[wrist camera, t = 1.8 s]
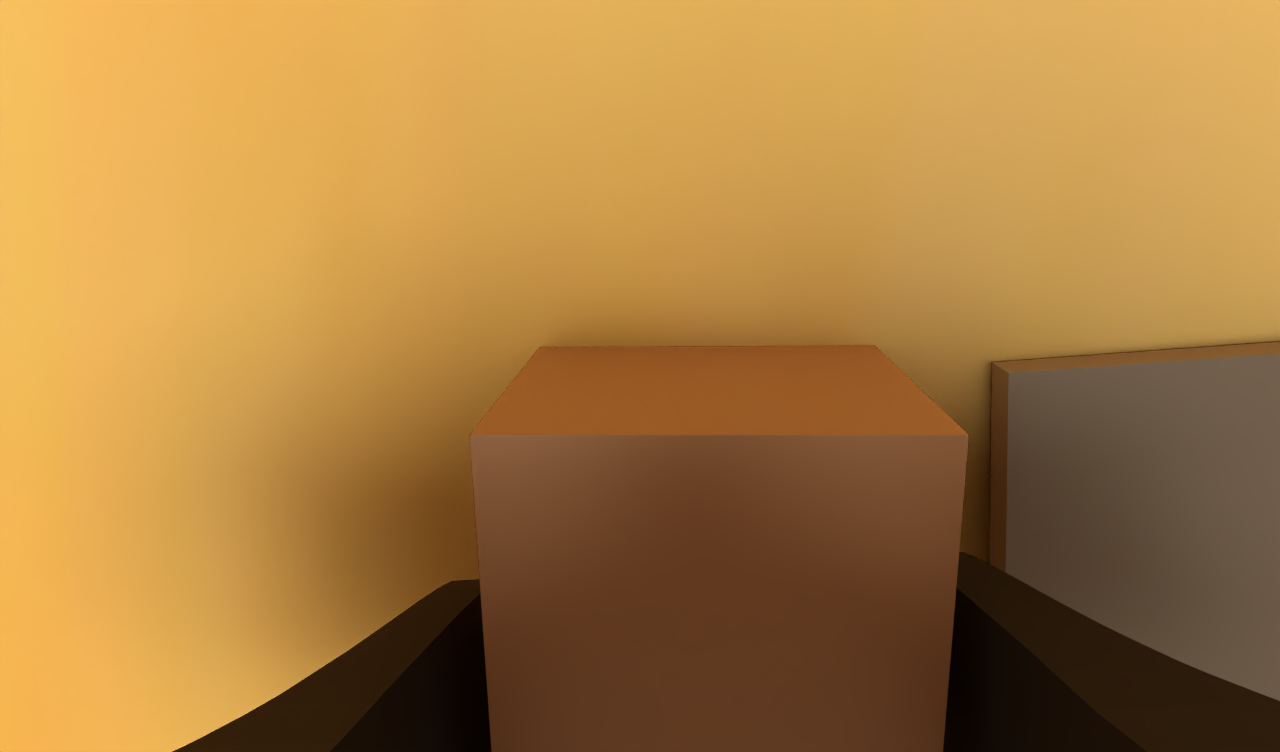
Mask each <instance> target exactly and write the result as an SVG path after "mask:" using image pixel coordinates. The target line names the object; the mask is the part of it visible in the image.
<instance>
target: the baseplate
mask: <svg viewBox="0 0 1280 752" xmlns="http://www.w3.org/2000/svg"><path fill="white" fill-rule="evenodd" d="M990 564H991V565H993V566H994V567H996V568H998V569H1000V570H1002V571H1004V572H1006V573H1007V574H1009V575H1011V576H1013V577H1015V578H1016V579H1018V580H1020V581H1022V582H1024V583H1026V584H1027V585H1029V586H1031V587H1033V588H1035V589H1036V590H1038V591H1040V592H1042V593H1044V594H1046V595H1047V596H1049V597H1051V598H1053V599H1055V600H1056V601H1058V602H1060V603H1062V604H1064V605H1066V606H1068V607H1070V608H1071V609H1073V610H1075V611H1077V612H1079V613H1081V614H1083V615H1085V616H1087V617H1089V618H1090V619H1092V620H1094V621H1096V622H1098V623H1100V624H1102V625H1104V626H1106V627H1108V628H1110V629H1112V630H1114V631H1116V632H1118V633H1120V634H1122V635H1124V636H1126V637H1129V638H1131V639H1133V640H1135V641H1137V642H1139V643H1141V644H1143V645H1146V646H1148V647H1150V648H1152V649H1154V650H1156V651H1158V652H1160V653H1163V654H1165V655H1167V656H1169V657H1171V658H1173V659H1176V660H1178V661H1180V662H1183V663H1185V664H1187V665H1190V666H1192V667H1194V668H1197V669H1199V670H1201V671H1204V672H1206V673H1209V674H1211V675H1214V676H1216V677H1219V678H1221V679H1224V680H1227V681H1229V682H1232V683H1234V684H1237V685H1240V686H1242V687H1245V688H1247V689H1250V690H1252V691H1255V692H1258V693H1260V694H1263V695H1265V696H1268V697H1270V698H1273V699H1276V700H1279V701H1280V342H1266V343H1252V344H1238V345H1224V346H1211V347H1197V348H1183V349H1169V350H1155V351H1141V352H1127V353H1113V354H1099V355H1086V356H1072V357H1058V358H1044V359H1030V360H1016V361H1002V362H992V391H991V484H990Z"/></svg>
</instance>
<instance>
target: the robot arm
mask: <svg viewBox="0 0 1280 752" xmlns="http://www.w3.org/2000/svg"><path fill="white" fill-rule="evenodd" d="M173 752H492V751H491V736H490V722H489V708H488V693H487V679H486V664H485V650H484V636H483V621H482V607H481V592H480V579H477V580H459V581H451V582H449V583H447V584H445V585H443V586H441V587H440V588H438V589H436V590H435V591H433V592H432V593H430V594H429V595H427V596H426V597H424V598H423V599H421V600H420V601H418V602H417V603H416V604H414V605H413V606H411V607H410V608H408V609H407V610H406V611H404V612H403V613H401V614H400V615H399V616H397V617H396V618H394V619H393V620H391V621H390V622H389V623H387V624H386V625H384V626H383V627H381V628H380V629H379V630H377V631H376V632H374V633H373V634H371V635H370V636H369V637H367V638H366V639H364V640H363V641H361V642H360V643H359V644H357V645H356V646H354V647H353V648H351V649H350V650H348V651H347V652H346V653H344V654H342V655H341V656H339V657H338V658H336V659H335V660H333V661H332V662H330V663H328V664H327V665H325V666H324V667H322V668H321V669H319V670H318V671H316V672H314V673H313V674H311V675H310V676H308V677H307V678H305V679H303V680H302V681H300V682H299V683H297V684H296V685H294V686H293V687H291V688H289V689H288V690H286V691H285V692H283V693H282V694H280V695H278V696H277V697H275V698H273V699H271V700H270V701H268V702H266V703H265V704H263V705H261V706H259V707H258V708H256V709H254V710H252V711H251V712H249V713H247V714H245V715H243V716H242V717H240V718H238V719H236V720H234V721H232V722H230V723H228V724H226V725H225V726H223V727H221V728H219V729H217V730H215V731H213V732H211V733H209V734H207V735H206V736H204V737H202V738H200V739H198V740H196V741H194V742H192V743H190V744H188V745H186V746H184V747H182V748H179V749H177V750H175V751H173ZM943 752H1280V701H1279V700H1276V699H1273V698H1270V697H1268V696H1265V695H1263V694H1260V693H1258V692H1255V691H1252V690H1250V689H1247V688H1245V687H1242V686H1240V685H1237V684H1234V683H1232V682H1229V681H1227V680H1224V679H1221V678H1219V677H1216V676H1214V675H1211V674H1209V673H1206V672H1204V671H1201V670H1199V669H1197V668H1194V667H1192V666H1190V665H1187V664H1185V663H1183V662H1180V661H1178V660H1176V659H1173V658H1171V657H1169V656H1167V655H1165V654H1163V653H1160V652H1158V651H1156V650H1154V649H1152V648H1150V647H1148V646H1146V645H1143V644H1141V643H1139V642H1137V641H1135V640H1133V639H1131V638H1129V637H1126V636H1124V635H1122V634H1120V633H1118V632H1116V631H1114V630H1112V629H1110V628H1108V627H1106V626H1104V625H1102V624H1100V623H1098V622H1096V621H1094V620H1092V619H1090V618H1089V617H1087V616H1085V615H1083V614H1081V613H1079V612H1077V611H1075V610H1073V609H1071V608H1070V607H1068V606H1066V605H1064V604H1062V603H1060V602H1058V601H1056V600H1055V599H1053V598H1051V597H1049V596H1047V595H1046V594H1044V593H1042V592H1040V591H1038V590H1036V589H1035V588H1033V587H1031V586H1029V585H1027V584H1026V583H1024V582H1022V581H1020V580H1018V579H1016V578H1015V577H1013V576H1011V575H1009V574H1007V573H1006V572H1004V571H1002V570H1000V569H998V568H996V567H994V566H993V565H991V564H989V563H987V562H985V561H983V560H981V559H979V558H977V557H974V556H972V555H970V554H967V553H965V552H959V561H958V574H957V586H956V598H955V610H954V622H953V635H952V647H951V659H950V671H949V683H948V696H947V708H946V720H945V732H944V744H943Z"/></svg>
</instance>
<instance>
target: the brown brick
mask: <svg viewBox="0 0 1280 752" xmlns="http://www.w3.org/2000/svg"><path fill="white" fill-rule="evenodd" d="M968 439H969V435H968V434H967V433H966V432H965V431H964V430H963V429H962V428H961V427H960V426H959V425H958V424H957V423H956V422H955V421H954V420H953V419H952V418H950V417H949V416H948V415H947V414H946V413H945V412H944V411H943V410H942V409H941V408H940V407H939V406H938V405H937V404H936V403H935V402H934V401H933V400H932V399H930V398H929V397H928V396H927V395H926V394H925V393H924V392H923V391H922V390H921V389H920V388H919V387H918V386H917V385H916V384H915V383H914V382H913V381H912V380H911V379H909V378H908V377H907V376H906V375H905V374H904V373H903V372H902V371H901V370H900V369H899V368H898V367H897V366H896V365H895V364H894V363H893V362H892V361H891V360H889V359H888V358H887V357H886V356H885V355H884V354H883V353H882V352H881V351H880V350H879V349H878V348H877V347H876V346H875V345H856V346H668V347H540V348H539V349H538V350H537V351H536V353H535V354H534V355H533V356H532V358H531V359H530V360H529V361H528V363H527V364H526V365H525V366H524V368H523V369H522V370H521V371H520V373H519V374H518V375H517V376H516V378H515V379H514V380H513V381H512V383H511V384H510V385H509V386H508V388H507V389H506V390H505V391H504V393H503V394H502V395H501V396H500V398H499V399H498V400H497V401H496V403H495V404H494V405H493V406H492V408H491V409H490V410H489V411H488V413H487V414H486V415H485V416H484V418H483V419H482V420H481V421H480V423H479V424H478V425H477V426H476V428H475V429H474V430H473V431H472V433H471V434H470V448H471V463H472V477H473V491H474V506H475V520H476V535H477V549H478V564H479V578H480V592H481V607H482V621H483V636H484V650H485V664H486V679H487V693H488V708H489V722H490V736H491V751H492V752H943V744H944V732H945V720H946V708H947V696H948V683H949V671H950V659H951V647H952V635H953V622H954V610H955V598H956V586H957V574H958V561H959V549H960V537H961V525H962V513H963V500H964V488H965V476H966V464H967V452H968Z"/></svg>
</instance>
